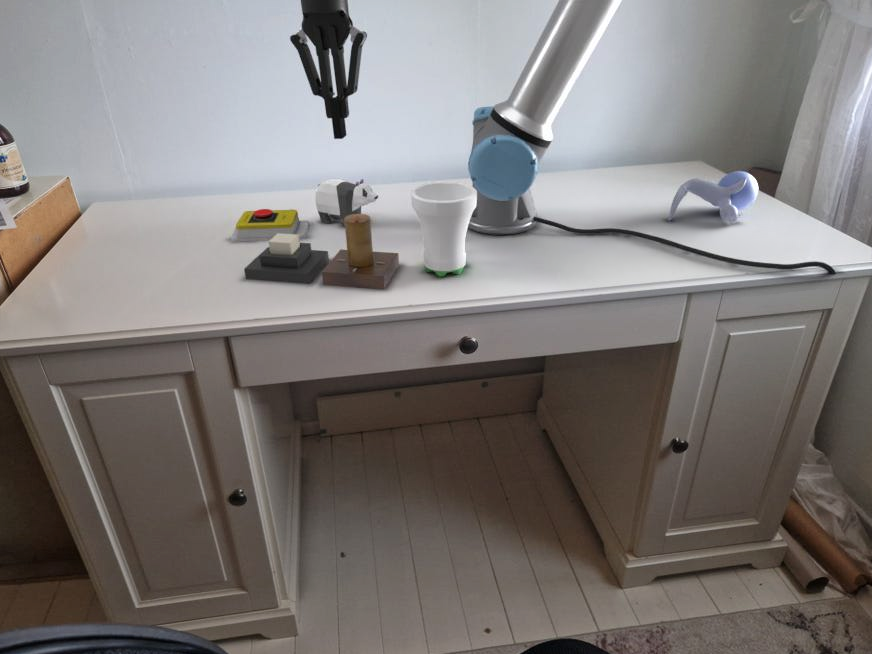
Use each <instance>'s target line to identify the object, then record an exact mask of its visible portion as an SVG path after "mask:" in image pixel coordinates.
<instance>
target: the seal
mask: <svg viewBox="0 0 872 654" xmlns="http://www.w3.org/2000/svg"><path fill="white" fill-rule="evenodd" d="M688 193H691V194H692V195H694V196H696V197H699V198H700V199H702V200H703V201H706V202H708V203H710V204H711V205H712V206H713V207H719V216H720V218H721V219H722V220H723V221H725V222H728V223H738V222H737V221H738V220H739V218H741V217H740V216H741V215H743V212H741V213H740V214H739V211H744V210H745V209H747V208H749V207H750V206H752V204H753V203H754V202H755V201H756V199H757V197H758V194H759V184H758V181H757V180H756V178H755V176H753V175H752V174H750V173H749V172H747V171H742V170H738V171H737V170H736V171H732V172H729V173H727V174H725V175H724V176H723V177H722V178H721V179H720V180H719V181H718V183H716V182H715V181H713V180H709V179H706V178H700V177H699V178H692V179H689V180H686V181H685V182H684V183H683V184H681V185H680V186H679V187H678V189H677V191H676V192H675V195H674V196H673V199H672V202H671V205H670V209H669V214H668V218H667V221H669V222H670V221H672V219H673V217H674V216H675V214H676V211H677V208H678V207H679V205H680V203H681V202H682V200H683V199H684V198H685V197H686V196H687V195H688Z"/></svg>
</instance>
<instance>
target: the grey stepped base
mask: <svg viewBox="0 0 872 654" xmlns="http://www.w3.org/2000/svg"><path fill="white" fill-rule="evenodd" d="M329 262H330V258H329V250H316V249H312V244H311V242H300V248H299V249H298V250H297V251H296V252H295V253H294V254H293V255H282V254H271V253H270V247H269V246H268V247H266V248H265V249H264V250H263V251H262V252H261V253H260V254H259V255H257V256H256V257H255V258H254V259H252V261H251V262H250V263H249V264H247V265H246V266H245V267H244V268H243V269H244V276H245V280H252V281H254V280H255V281H268V282H280V283H281V282H282V283H295V284H308V285H310V284H311V283H312V282H313V281H314V279H315V278H316V277H317V276H318V275H319V273H320V272H322V271H323V270H324V268H325V267H326V266H327V265H328V264H329Z"/></svg>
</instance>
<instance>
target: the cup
mask: <svg viewBox="0 0 872 654" xmlns="http://www.w3.org/2000/svg"><path fill="white" fill-rule="evenodd" d="M410 199H411V207H412V209H413V211H414V212H415V214H416V216H417V219H418V221H419V225H420V228H421V232H422V237H423V246H424V247H423V249H424V251H423V254H422V259H423V260H422V261H423V262H422V263H423V268H424V270H425V272H426V273H432V272H434V273H435V275H436V276H438V277H439V278H440V277H441V278H442V277H445V276H446V275H447V274H448V273H452V274H454V275H461V273H462V271H463V269H464V267H465V266H466V265H467V253H466V250H465V249H466V247H465V246H466V245H465V244H466V236H467V231H468V229H469V228H468V224H469V221H470V218H471V215H472V213H473V211H474V209H475V208H476V205H477V191H476V189H475V188H474V187H472V185H470V184H468V183H463V182H458V181H457V182H455V181H433V182H427V183H424V184H420V185H418V186H415V187H414V188H413V189H411V192H410Z"/></svg>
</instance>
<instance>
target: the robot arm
mask: <svg viewBox="0 0 872 654" xmlns="http://www.w3.org/2000/svg"><path fill="white" fill-rule="evenodd" d="M621 3H622V0H558V1H557V4H556V5H555V7H554V10H553V11H552V13H551V15H550V16H549V19H548V21H547V22H546V25H545V27H544V29H543V30H542V32H541V35H540V36H539V38H538V40H537V42H536V44H535V46H534V48H533V50H532V51H531V54H530V55H529V57H528V59H527V61H526V63H525V65H524V67H523V69H522V71H521V74H519V77H518V79H517V81H516V82H515V84H514V86H513V89H512V90H511V92H510V94H509V96H508V98H507V99H505V101H501V102H499V103H496V104H494V106H492V105H491V106H482V107H478V108H476V109H475V110H474V112H473V120H472V127H473V128H472V130H473V131H472V132H473V133H472V144H471V145H472V146H471V149H470V150H471V151H470V155H469V158H468V163H467V165H468V166H467V167H468V168H467V169H468V174H469V176H470V179H471V182H472V185H471V186H472V187H474V188H475V189H476V191H477V205H476V208H475V209H474V211H473V213H472V215H471V218H470V221H469V224H468V228H467V229H469V230H472V231H474V232H478V233H481V234H486V235H496V236H502V235H503V236H504V235H505V236H506V235H507V236H508V235H516V234H521V233H524V232H527V231H530V230H531V229H533V228H534V227H535V226H536V224H537V223H540V224H544V225H547V226H550V227H554V228H557V229H560V230H562V231H565V232H570V233H572V234H573V233H574V234H583V235H594V234H621V235H627V236H632V237H633V236H634V237H638V238H641V239H645V240H648V241H652V242H657V243H659V244H663V245H665V246H666V245H667V246H668V247H669V246H670V247H672V248H676V249H678V250H681V251H685V252H688V253H691V254H695V255H698V256H702V257H705V258H709V259H712V260H716V261H720V262H724V263H728V264H734V265H739V266H746V267H754V268H763V269H775V270H797V269H804V268H813V267H817V268H822V269H823V270H825V271H827V273H828V274H832V275H836V274H837V272H836V270H835V268H834V267H832V266H831V265H830V264H828V263H826V262H824V261H823V262H822V261H816V260H815V261H814V260H813V261H804V262H798V263H773V262H761V261H753V260H745V259H740V258H735V257H728V256H724V255H720V254H717V253H712V252H709V251H705V250H701V249H698V248H695V247H691V246H689V245H688V246H687V245H685V244H682V243H679V242H677V241H672V240H669V239H668V238H667V239H666V238H664V237H663V238H662V237H659V236H655V235H653V234H647V233H644V232H639V231H635V230H631V229H624V228H613V227H605V228H604V227H603V228H591V229H590V228H575V227H570V226H567V225H564V224H563V223H562V224H561V223H559V222H555V221H553V220H548V219H545V218H542V217H537V210H536V207H535V202H534V198H533V194H532V190H531V188H532V186H533V184H534V183H535V180H536V178H537V177H536V176H537V174H538V170H539V165H540V163H541V160H542V159H543V157H544V155H545V154H546V152H547V150H548V149H549V147H550V145H551V143H552V142H553V140H554V134H553V130H552V124H553V122H554V120H555V118H556V117H557V116H558V114H559V111H560V110H561V108H562V107H563V104H564V103H565V101H566V99H567V97H568V96H569V94H570V93H571V90H572V89H573V87H574V85H575V83H576V82H577V80H578V78H579V77H580V75H581V73H582V72H583V69H584V67H585V66H586V64H587V62H588V60H589V59H590V57H591V55H592V54H593V52H594V50H595V48H596V47H597V45H598V43H599V41H600V39H601V38H602V36H603V34H604V32H605V31H606V30H607V27H608V26H609V23H610V22H611V20H612V18H613V17H614V15H615V13H616V12H617V9H618V7H620V4H621ZM300 6H301V12H302V13H301V14H302V21H301V25H300V26H301V28H300V29H299V30H298V31H297V32H296V33H295V34H292V35H290V36H289V40H290V42H291V43H292V45H293V46H294V48H295V49H296V50H297V52H298V53H297V54H298V56H299V59H300V61H301V65H302V67H303V70H304V73H305V76H306V78H307V81H308V85H309V87H310V89H311V93H312V94H313V96H317V97H320V98H321V99H322V100H323V101H324V107H325V116H326V118H327V119H331V124H332V132H333V139H334V140H343V139H344V138H345V137H347V127H346V126H347V125H346V119H347V118H349V116H350V109H349V97H350V96H352V95H354V94H356V92H358V86H359V78H360V71H361V61H362V52H363V47H364V44H365V43H366V40H367V38H368V34H367V32H366V31H363V30H362V31H361V30H360V29H358V28H357V27H356V26H354V22H353V19H351V17H350V16H351V15H350V13H349V12H350V10H349V1H348V0H300ZM349 36H350V42H351V43H352V44H351V47H350V54H349V55H350V57H349V65H348V74H347V73H346V65H345V63H346V62H345V56H344V54H345V47H344V46H345V44H346V42H347V40H348V38H349ZM308 41H310V42H311V44H313V46H314V47H315V53H316V57H317V62H318V70H317V67H316V63H315V61H314V58H313V55H312V52H311V49H310V47H309V45H308ZM330 55H331V57H332V64H333V72H334V80H335V81H334V82H335V88H336V92H334V86H333V76H332V69H331V68H332V67H331V61H330V60H331V59H330ZM318 71H319V72H318ZM335 95H336V96H335Z"/></svg>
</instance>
